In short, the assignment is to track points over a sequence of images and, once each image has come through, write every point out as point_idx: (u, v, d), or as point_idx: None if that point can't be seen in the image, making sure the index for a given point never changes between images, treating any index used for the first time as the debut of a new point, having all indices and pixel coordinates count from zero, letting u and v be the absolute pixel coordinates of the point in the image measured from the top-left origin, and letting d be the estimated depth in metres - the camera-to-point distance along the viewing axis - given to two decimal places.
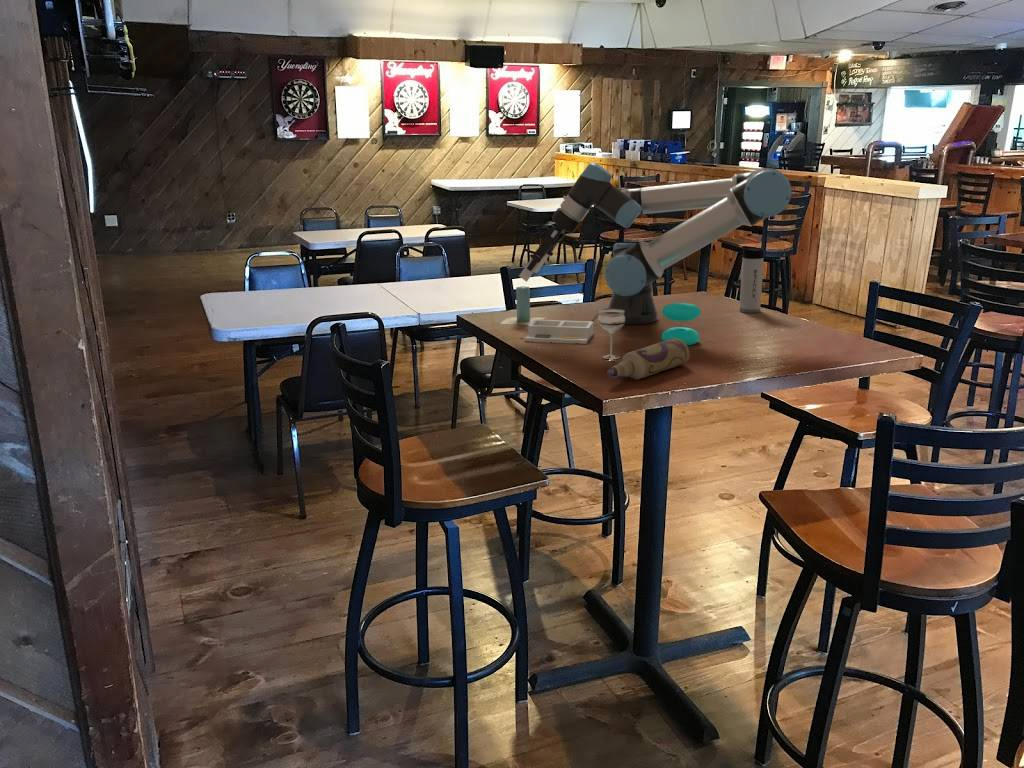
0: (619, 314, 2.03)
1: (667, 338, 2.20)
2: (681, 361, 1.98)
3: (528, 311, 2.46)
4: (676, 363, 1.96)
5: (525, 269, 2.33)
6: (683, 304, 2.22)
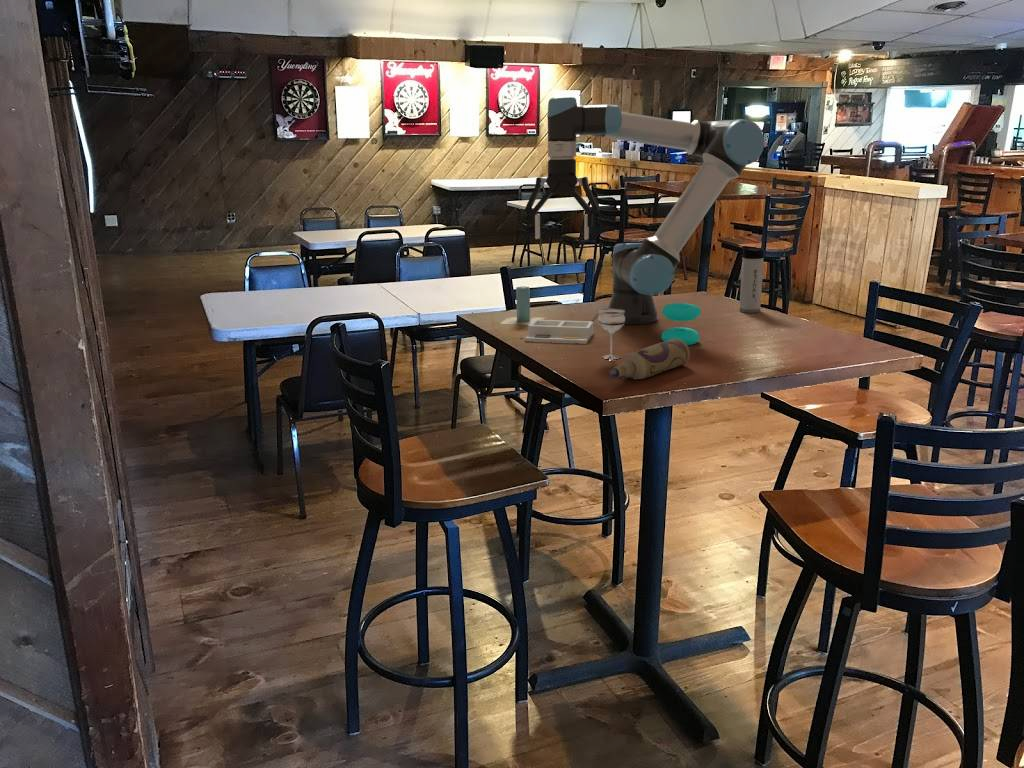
0: (619, 314, 2.03)
1: (667, 338, 2.20)
2: (682, 361, 1.98)
3: (528, 311, 2.46)
4: (677, 363, 1.96)
5: (587, 229, 2.24)
6: (683, 304, 2.22)
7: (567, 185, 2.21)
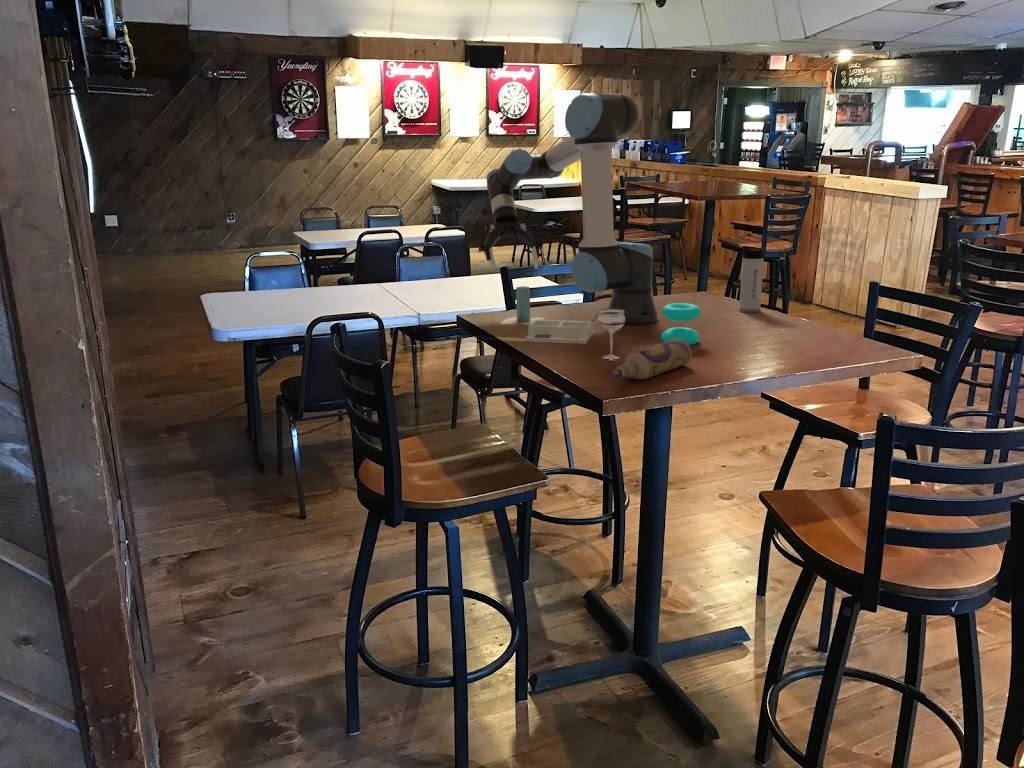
0: (619, 314, 2.03)
1: (667, 338, 2.20)
2: (684, 361, 1.97)
3: (528, 311, 2.46)
4: (679, 363, 1.96)
5: (490, 262, 2.53)
6: (683, 304, 2.22)
7: None
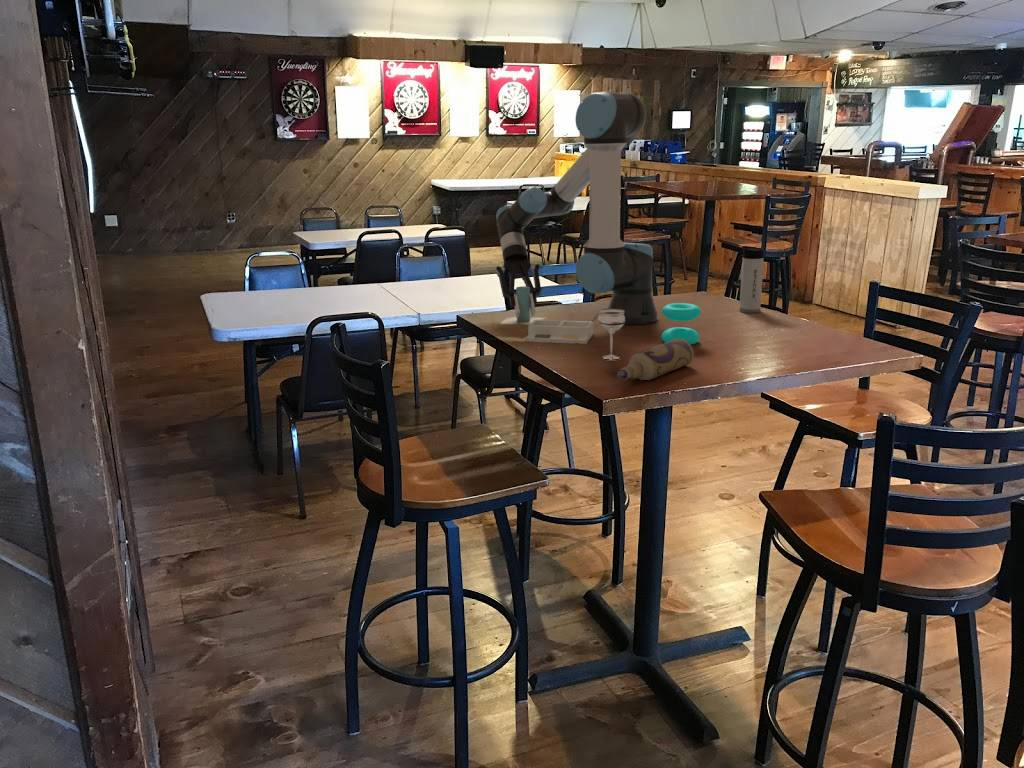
0: (619, 314, 2.03)
1: (667, 338, 2.20)
2: (686, 361, 1.97)
3: (528, 311, 2.46)
4: (681, 364, 1.96)
5: (515, 309, 2.45)
6: (683, 304, 2.22)
7: None
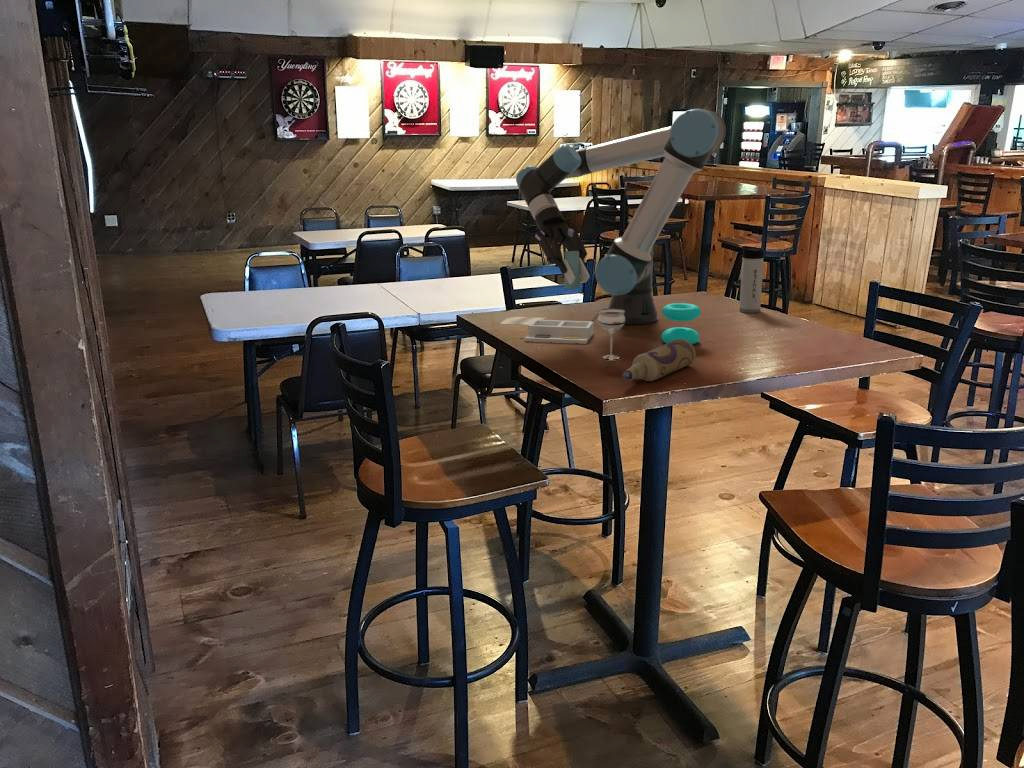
0: (619, 314, 2.03)
1: (667, 338, 2.20)
2: (688, 362, 1.97)
3: (578, 277, 2.27)
4: (684, 364, 1.96)
5: (566, 275, 2.25)
6: (683, 304, 2.22)
7: None
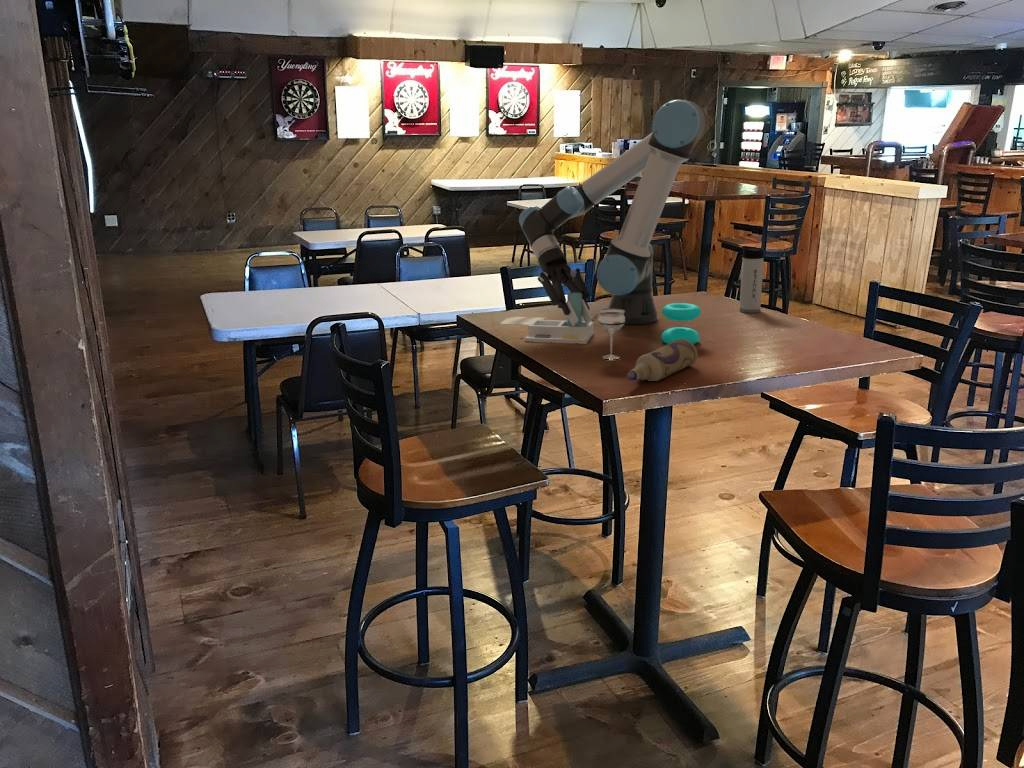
0: (619, 314, 2.03)
1: (667, 338, 2.20)
2: (690, 362, 1.97)
3: (581, 318, 2.30)
4: (686, 364, 1.96)
5: (569, 317, 2.28)
6: (683, 304, 2.22)
7: None
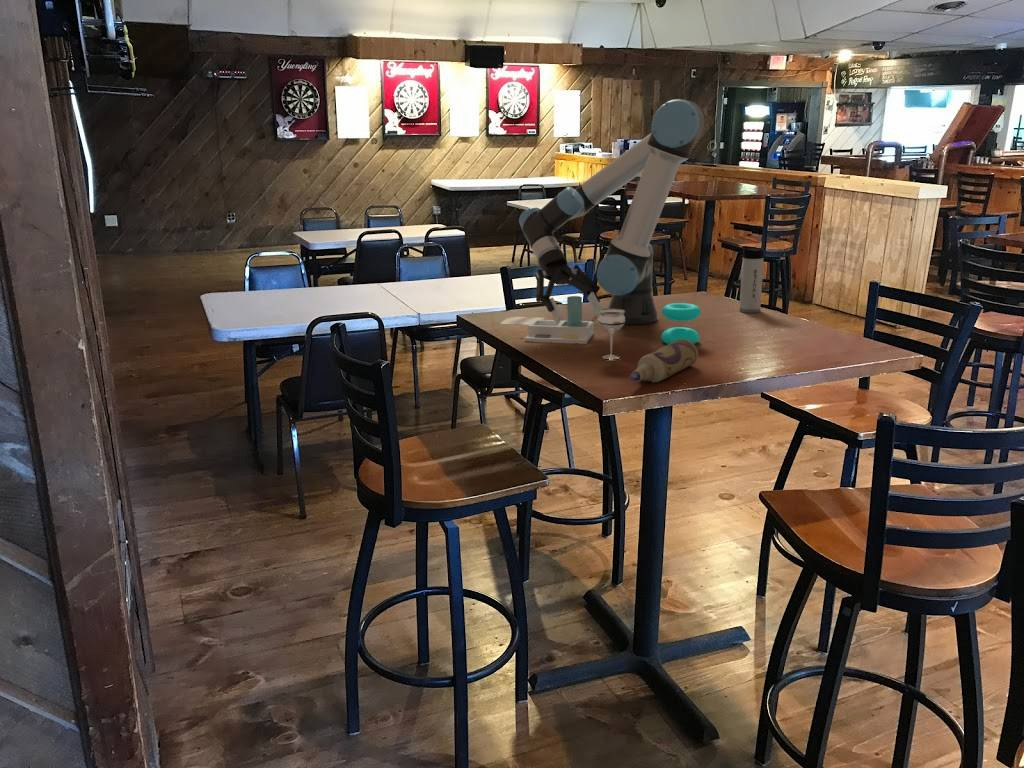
0: (619, 314, 2.03)
1: (667, 338, 2.20)
2: (691, 362, 1.97)
3: (581, 322, 2.30)
4: (687, 364, 1.96)
5: (553, 313, 2.26)
6: (683, 304, 2.22)
7: None
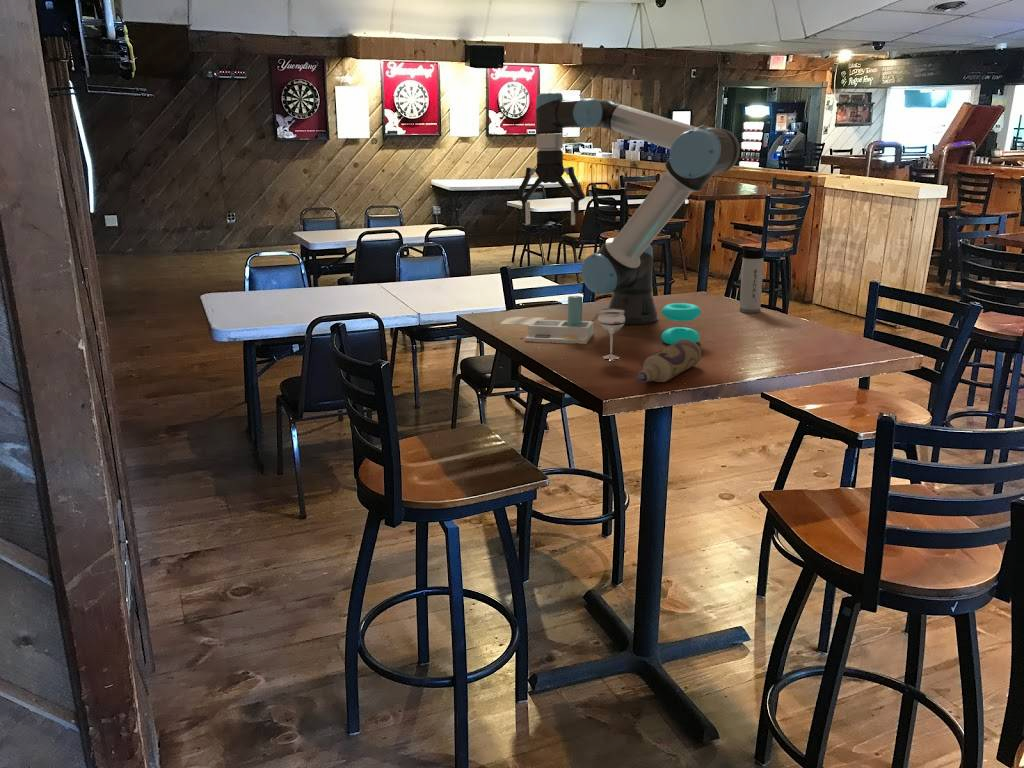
0: (619, 314, 2.03)
1: (667, 338, 2.20)
2: (695, 362, 1.97)
3: (581, 322, 2.30)
4: (691, 364, 1.95)
5: None
6: (683, 304, 2.22)
7: None
